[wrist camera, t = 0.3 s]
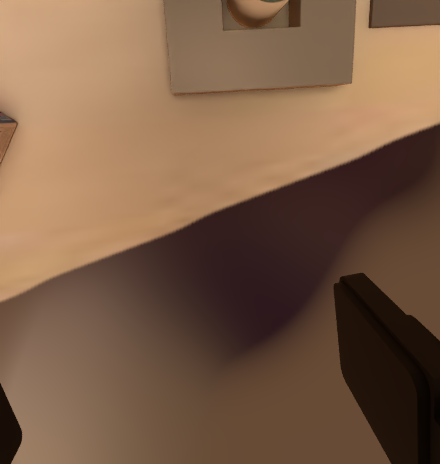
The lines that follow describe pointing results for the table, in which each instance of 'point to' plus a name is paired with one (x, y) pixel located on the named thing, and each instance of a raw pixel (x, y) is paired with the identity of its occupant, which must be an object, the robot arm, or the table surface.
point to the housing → (259, 48)
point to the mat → (404, 13)
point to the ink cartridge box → (5, 132)
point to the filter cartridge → (254, 11)
